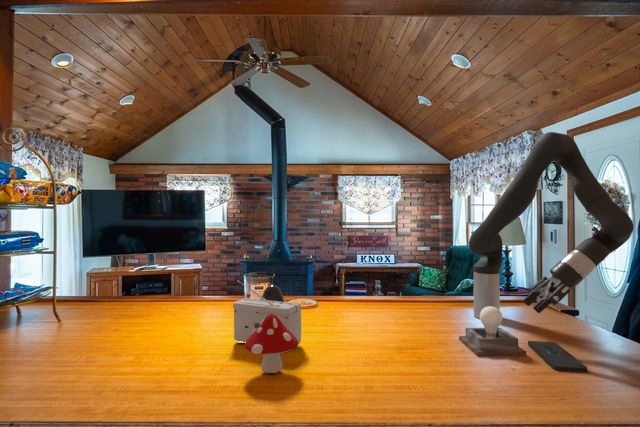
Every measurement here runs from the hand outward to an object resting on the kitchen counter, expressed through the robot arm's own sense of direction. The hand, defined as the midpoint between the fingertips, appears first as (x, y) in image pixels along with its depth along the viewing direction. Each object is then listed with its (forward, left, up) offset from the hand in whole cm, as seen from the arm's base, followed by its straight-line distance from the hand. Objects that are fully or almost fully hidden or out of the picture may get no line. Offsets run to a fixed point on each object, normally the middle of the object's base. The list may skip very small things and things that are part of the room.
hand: (530, 307), depth 116 cm
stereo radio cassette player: (-6, -79, -13) cm, 80 cm away
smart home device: (+6, +4, -13) cm, 15 cm away
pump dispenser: (-23, -79, -13) cm, 83 cm away
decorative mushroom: (+15, -75, -13) cm, 77 cm away
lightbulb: (-2, -11, -11) cm, 16 cm away
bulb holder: (-2, -11, -12) cm, 17 cm away
